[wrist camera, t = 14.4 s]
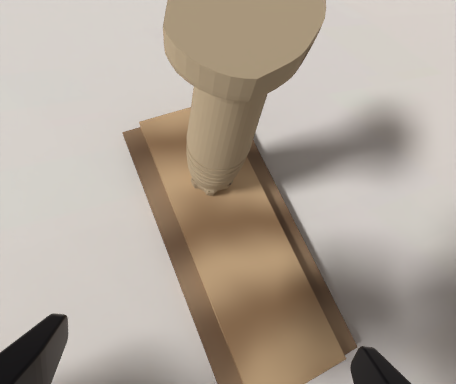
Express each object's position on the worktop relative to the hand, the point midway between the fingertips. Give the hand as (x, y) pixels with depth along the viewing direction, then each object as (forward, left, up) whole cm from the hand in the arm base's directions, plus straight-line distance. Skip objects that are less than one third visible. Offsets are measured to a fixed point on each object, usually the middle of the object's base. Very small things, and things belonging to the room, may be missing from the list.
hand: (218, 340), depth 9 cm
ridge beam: (+5, -5, -14) cm, 15 cm away
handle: (+9, -5, -12) cm, 16 cm away
